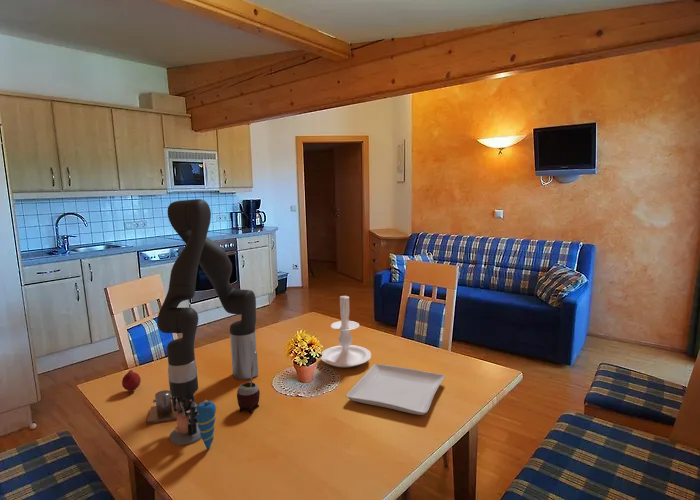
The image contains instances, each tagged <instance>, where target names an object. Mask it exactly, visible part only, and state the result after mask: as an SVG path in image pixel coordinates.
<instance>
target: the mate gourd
mask: <svg viewBox="0 0 700 500" xmlns="http://www.w3.org/2000/svg"><path fill="white" fill-rule="evenodd" d="M255 359H256V358H254V360H253V363H252V367H251V379H250V381H248V382H244V383H242V384H240V385H239V386H238V389H237V392H236V399H237V405H238V408H239V409H238V411H239V413H243V412H246V411H248V412H249V414H251V415H252V414H253V413H254V412H253V410H254V409H257V408H259V407H260V405H259V401H260V396H261V395H260V394H261V393H260V391H261V390H260V387H259V386H258V385H257V384H256V383H255V382H253V378H254V377H253V369H254V368H253V366H254V362H255ZM252 377H253V378H252Z"/></svg>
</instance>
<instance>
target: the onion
mask: <svg viewBox="0 0 700 500" xmlns="http://www.w3.org/2000/svg"><path fill="white" fill-rule="evenodd" d="M141 381H142V379H141V376H140V375H139V374H138V373H137V372H134V371H133V369H129V370H128V372H127V373H126V374H125V375H124V376H123V377H122V380H121V385H122V387H123V389H124V390H126V391H128V392H134V391H135V390H136V389H137V388H139V386H140V385H141Z"/></svg>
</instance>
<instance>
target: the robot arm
mask: <svg viewBox="0 0 700 500" xmlns="http://www.w3.org/2000/svg"><path fill="white" fill-rule="evenodd" d="M211 211H212V210H211V207H210V205H209V203H208V202H207V201H206V200H204V199H202V198H201V199H200V198H197V199H185V200H184V199H181V200H176V201H173V202H171V203H170V204H169V205H168V207H167V217H168V222H169V224H170V225H171V227H172V228H173V229H174V231H175V233H176V234H177V235H178V236H179V238H180V239H181V240H182V241H183V242H184V243H185V246H184V248H183V250H182V251H181V252H180V254H179V255H178V257H177V258H176V260H175V261H174V263H173V265H172V268H171V271H170V277H169V283H168V284H169V285H168V290H167V293H166V295H165V297H164V298H165V299H164V301H163V303H162V305H161V307H160V310H159V312H158V314H157V317H156V318H157V319H156V323H157V324H156V325H157V327H158V329H159V331H160V332H161V333H164V334H182V337H179V338H177V339H176V338H175V339H173V340H171V341H170V342H168V344H167V346H166V353H167V355H166V356H167V362H168V368H167V373H168V374H167V375H168V384H169V385H168V386H169V391H170V394H171V397H172V400H171V403H173V408H174V411H175V412H176V411H177V415H178V414H180V413H181V412H183V415H184V416H185V417H186V419H187V423H188V434H189V435H190V436H192V435H194V434H196V433H197V427H196V423H197V422H198V421H197V419H196V415H197V413H198V412H197V406H198V405H199V404H200V403H201V402H199V403H196V399H195V395H194V394H195V393H196V392H197V391H198V390H199V381H198V370H197V362H196V357H195V339H196V334H197V330H198V329H197V328H198V325H199V314H198V312H197V310H195V309H194V308H192V307H179V305H180V303H183V302H185V301H188V300H191V299H193V298H194V296H195V293H196V285H197V276H198V270H199V266H200V268H201V269H202V271H203V272H204V274H205V275H206V277H207V278H208V280H209V281H210V283H211V285H212V287H213V288H214V290H215V293H216V295H217V297H218V299H219V301H220V304H221V305H222V308H223V310H224V311H226V313H228V314H231V315H238V316H239V315H241V317H240V318H241V320H236V321H234V322H232V323H231V324H230V325H229V336H230V337H229V338H230V350H231V351H230V353H231V367H232V377H233V378H234V379H235V380H239V381H242V380H243V381H244V380H251V367H252V363H253V360H254V358H256V359H255V362H254V366H253V368H254V369H253V377H252V379H253V378H255V377H259V364H258V350H257V336H256V334H257V333H256V323H257V301H256V300H257V299H256V295H255V292H254V291H253V290H251V289H241V288H240V289H239V288H238V289H237V288H234V287H233V285H232V283H230V279H231V276H232V273H233V263H232V261H231V259H230V258H229V255H228V254H227V252H226V251H225V249H224V248H223V247H222V246H221V245H219V244H218V243H216V242H215V241H214V240H212V239H210V238H209V237H207V236H208V232H209V229H210V224H211V218H212V212H211ZM186 411H190V412H188V413H187V412H186ZM189 416H190V417H189Z"/></svg>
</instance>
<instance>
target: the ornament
mask: <svg viewBox="0 0 700 500" xmlns="http://www.w3.org/2000/svg"><path fill="white" fill-rule="evenodd" d="M199 403H200V404H199V405H198V406H197V412H198V413H197V415H196V419H197V421H198V428H199V430H200V435H201V440H202V441H203V443H204V445H205V448H206V449H207V450H210V448H211V446H212V444H213V440H214V436H215V435H214V432H215V422H216V412H217V407H216V404H215V403H214V402H213V401H210V400H208V399H207V398H204V401H202V402H199Z"/></svg>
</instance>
